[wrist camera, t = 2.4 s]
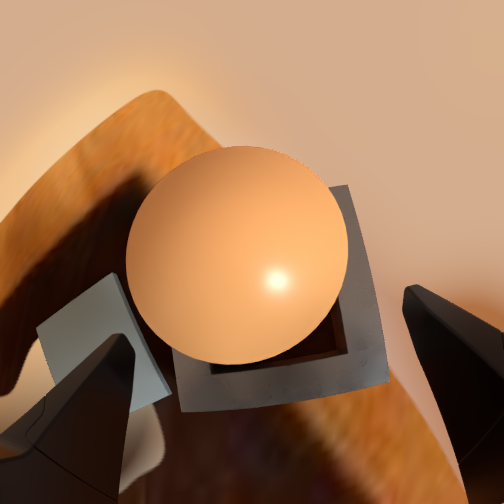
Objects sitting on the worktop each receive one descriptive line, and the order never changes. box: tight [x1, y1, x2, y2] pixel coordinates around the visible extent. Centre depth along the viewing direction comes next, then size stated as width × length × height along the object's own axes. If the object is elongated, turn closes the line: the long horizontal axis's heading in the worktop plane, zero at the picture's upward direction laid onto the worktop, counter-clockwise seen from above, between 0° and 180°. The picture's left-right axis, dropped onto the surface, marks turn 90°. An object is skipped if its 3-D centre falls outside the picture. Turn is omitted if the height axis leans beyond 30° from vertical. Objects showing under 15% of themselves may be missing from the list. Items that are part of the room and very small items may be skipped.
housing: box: [172, 185, 390, 412], centre depth 16 cm, size 10×10×4 cm
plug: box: [126, 146, 348, 365], centre depth 12 cm, size 5×5×12 cm
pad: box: [36, 273, 172, 413], centre depth 18 cm, size 9×9×1 cm
